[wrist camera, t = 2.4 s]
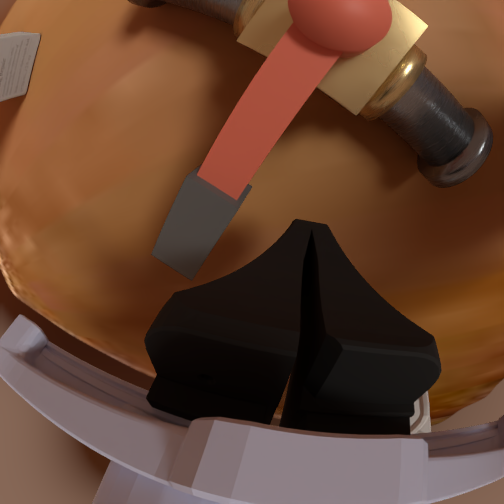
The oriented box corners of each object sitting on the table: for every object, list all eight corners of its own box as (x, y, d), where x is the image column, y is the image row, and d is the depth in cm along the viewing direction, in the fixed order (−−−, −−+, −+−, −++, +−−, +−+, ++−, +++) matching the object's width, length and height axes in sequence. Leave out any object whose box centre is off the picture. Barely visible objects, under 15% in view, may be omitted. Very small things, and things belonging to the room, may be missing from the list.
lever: (320, -23, 5) (320, -46, 3) (391, 21, 5) (409, 7, 4) (165, 225, 12) (143, 249, 11) (215, 257, 13) (200, 286, 11)
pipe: (461, 113, 10) (508, 130, 6) (416, 168, 13) (449, 203, 9) (197, -47, 8) (158, -76, 4) (157, 10, 10) (106, -2, 7)
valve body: (408, 55, 9) (448, 45, 5) (357, 118, 12) (377, 133, 8) (295, -18, 8) (284, -58, 4) (246, 47, 11) (213, 31, 7)
